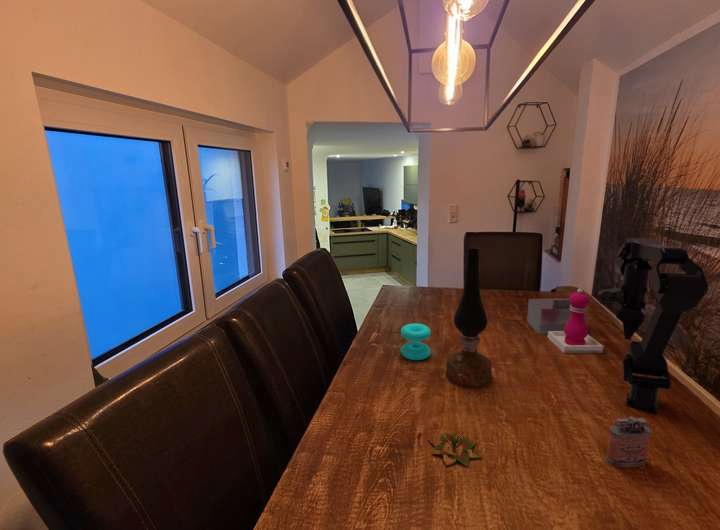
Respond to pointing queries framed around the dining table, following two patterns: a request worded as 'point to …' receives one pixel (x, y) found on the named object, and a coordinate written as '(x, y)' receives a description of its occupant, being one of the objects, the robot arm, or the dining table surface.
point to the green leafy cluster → (464, 442)
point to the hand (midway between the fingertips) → (628, 333)
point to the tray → (589, 346)
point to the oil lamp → (470, 333)
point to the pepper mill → (577, 319)
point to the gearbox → (548, 314)
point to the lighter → (628, 442)
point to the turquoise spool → (415, 348)
